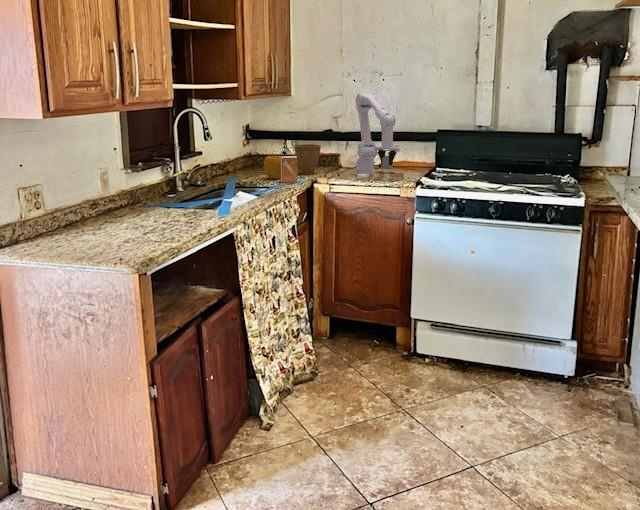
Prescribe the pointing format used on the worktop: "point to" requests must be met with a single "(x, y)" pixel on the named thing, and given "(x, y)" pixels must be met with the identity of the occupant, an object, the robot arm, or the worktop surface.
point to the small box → (289, 169)
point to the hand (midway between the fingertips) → (386, 164)
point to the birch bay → (386, 176)
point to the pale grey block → (362, 176)
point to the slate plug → (386, 163)
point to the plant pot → (307, 157)
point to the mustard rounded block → (273, 166)
